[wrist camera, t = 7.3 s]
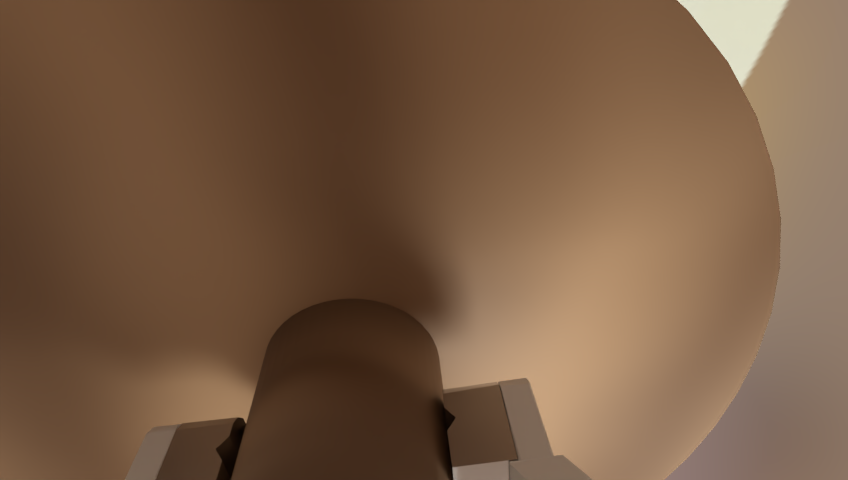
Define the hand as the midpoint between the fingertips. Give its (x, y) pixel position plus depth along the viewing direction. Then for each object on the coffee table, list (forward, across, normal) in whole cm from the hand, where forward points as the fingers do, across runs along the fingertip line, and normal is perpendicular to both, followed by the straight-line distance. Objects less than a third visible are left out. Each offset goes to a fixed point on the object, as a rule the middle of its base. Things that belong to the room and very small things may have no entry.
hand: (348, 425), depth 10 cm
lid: (+2, 0, 0) cm, 2 cm away
